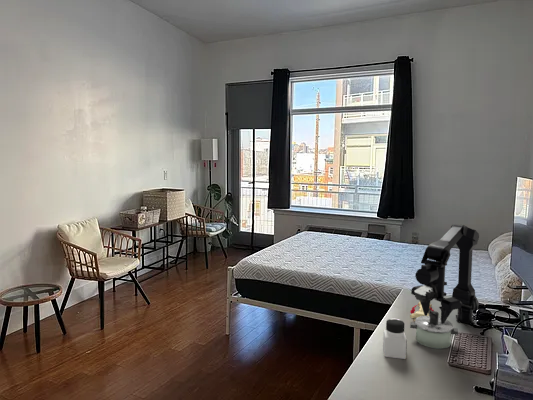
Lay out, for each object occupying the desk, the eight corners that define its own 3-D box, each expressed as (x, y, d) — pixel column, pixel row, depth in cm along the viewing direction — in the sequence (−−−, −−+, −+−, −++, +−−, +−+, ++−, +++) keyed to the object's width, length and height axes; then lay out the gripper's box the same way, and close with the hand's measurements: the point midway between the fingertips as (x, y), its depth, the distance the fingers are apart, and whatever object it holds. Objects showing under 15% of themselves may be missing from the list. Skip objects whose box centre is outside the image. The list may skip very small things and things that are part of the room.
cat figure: (413, 307, 185) (407, 323, 162) (414, 289, 184) (408, 302, 162) (436, 311, 180) (434, 328, 158) (437, 292, 180) (435, 306, 158)
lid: (415, 316, 156) (415, 304, 156) (451, 321, 152) (452, 308, 151) (414, 329, 144) (415, 316, 144) (454, 335, 140) (454, 322, 139)
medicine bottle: (406, 359, 135) (407, 325, 134) (384, 357, 137) (385, 324, 135) (403, 349, 142) (404, 317, 141) (382, 347, 144) (383, 315, 142)
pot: (410, 330, 157) (410, 316, 156) (455, 337, 151) (456, 322, 150) (409, 344, 146) (410, 328, 145) (458, 352, 140) (459, 335, 139)
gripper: (401, 274, 151) (399, 313, 153) (440, 289, 134) (437, 333, 136) (423, 270, 156) (421, 309, 157) (463, 285, 139) (461, 327, 140)
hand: (434, 319), depth 148 cm, fingers open, 8 cm apart
